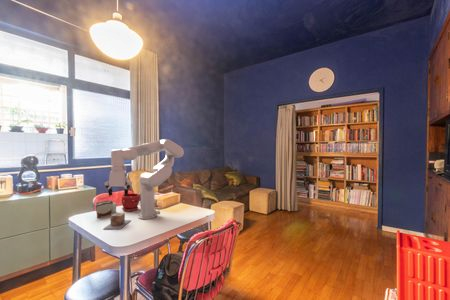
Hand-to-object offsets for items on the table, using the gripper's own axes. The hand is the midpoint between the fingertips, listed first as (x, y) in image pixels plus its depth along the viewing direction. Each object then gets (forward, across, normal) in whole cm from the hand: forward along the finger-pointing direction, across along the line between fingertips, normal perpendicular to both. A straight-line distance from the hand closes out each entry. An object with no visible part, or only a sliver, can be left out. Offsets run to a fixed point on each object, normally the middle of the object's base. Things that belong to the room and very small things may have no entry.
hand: (118, 195), depth 138 cm
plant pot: (+19, +5, -33) cm, 38 cm away
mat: (+19, 0, +2) cm, 19 cm away
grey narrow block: (+19, +16, -25) cm, 35 cm away
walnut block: (+18, 0, +2) cm, 18 cm away
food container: (+19, +20, -18) cm, 33 cm away
